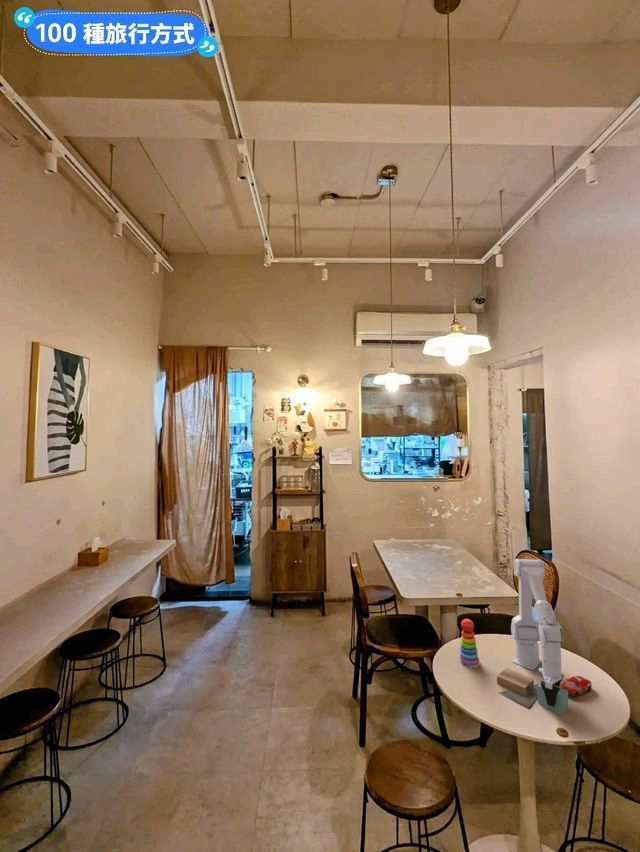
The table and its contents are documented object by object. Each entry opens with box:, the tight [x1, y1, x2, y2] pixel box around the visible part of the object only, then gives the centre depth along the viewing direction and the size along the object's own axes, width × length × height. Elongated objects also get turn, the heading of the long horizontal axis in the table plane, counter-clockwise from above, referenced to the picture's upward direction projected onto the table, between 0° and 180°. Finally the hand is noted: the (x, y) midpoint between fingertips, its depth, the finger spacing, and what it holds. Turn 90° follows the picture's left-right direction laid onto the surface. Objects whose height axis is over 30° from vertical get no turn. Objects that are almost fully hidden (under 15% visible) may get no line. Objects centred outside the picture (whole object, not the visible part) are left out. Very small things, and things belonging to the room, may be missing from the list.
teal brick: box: [537, 680, 570, 716], centre depth 137 cm, size 5×8×6 cm, turn 41°
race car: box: [560, 675, 593, 698], centre depth 144 cm, size 13×5×4 cm, turn 116°
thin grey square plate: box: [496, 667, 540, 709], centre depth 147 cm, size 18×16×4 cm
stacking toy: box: [459, 618, 480, 668], centre depth 162 cm, size 8×8×19 cm
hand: (552, 700), depth 137 cm, fingers open, 7 cm apart
